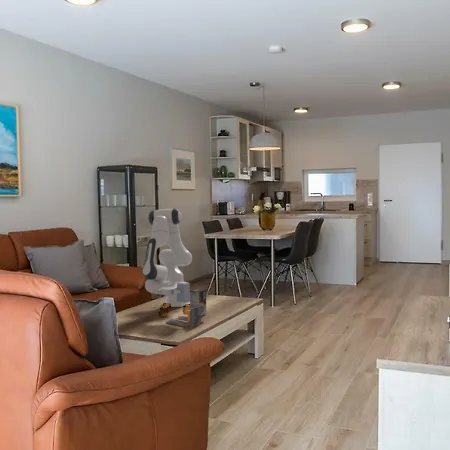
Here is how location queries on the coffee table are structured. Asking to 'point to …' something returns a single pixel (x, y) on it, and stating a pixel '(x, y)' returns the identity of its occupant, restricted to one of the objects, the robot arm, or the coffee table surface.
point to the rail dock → (184, 320)
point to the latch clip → (189, 315)
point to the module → (183, 292)
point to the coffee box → (198, 299)
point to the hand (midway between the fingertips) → (184, 290)
